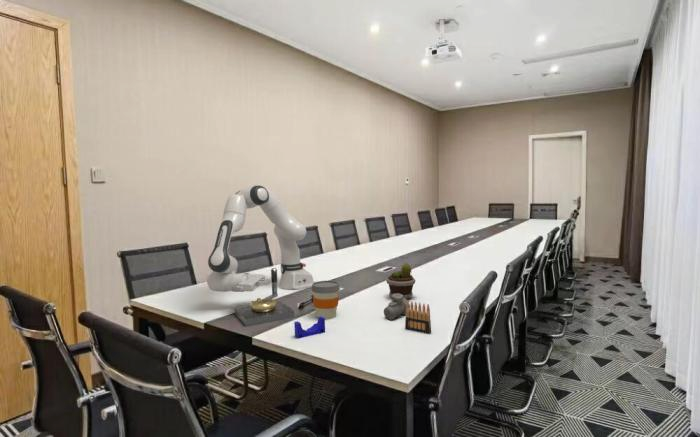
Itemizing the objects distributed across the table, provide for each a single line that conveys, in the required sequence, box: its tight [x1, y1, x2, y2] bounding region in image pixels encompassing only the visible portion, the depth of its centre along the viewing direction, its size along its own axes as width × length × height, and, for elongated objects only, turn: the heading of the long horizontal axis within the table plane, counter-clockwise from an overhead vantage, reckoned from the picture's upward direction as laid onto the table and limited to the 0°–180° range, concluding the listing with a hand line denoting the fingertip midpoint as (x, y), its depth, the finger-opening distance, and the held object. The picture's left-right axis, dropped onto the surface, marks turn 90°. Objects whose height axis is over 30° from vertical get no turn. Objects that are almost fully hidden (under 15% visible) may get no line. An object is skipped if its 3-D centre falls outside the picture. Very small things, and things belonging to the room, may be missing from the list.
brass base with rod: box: [250, 267, 279, 312], centre depth 183 cm, size 17×11×17 cm, turn 160°
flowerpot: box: [385, 262, 416, 301], centre depth 205 cm, size 14×15×20 cm
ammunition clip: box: [404, 300, 432, 335], centre depth 158 cm, size 11×2×12 cm, turn 56°
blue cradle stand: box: [293, 316, 326, 339], centre depth 158 cm, size 12×4×6 cm, turn 121°
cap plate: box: [233, 300, 295, 327], centre depth 181 cm, size 22×20×3 cm
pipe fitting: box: [383, 293, 411, 320], centre depth 176 cm, size 12×8×10 cm
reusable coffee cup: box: [311, 280, 340, 320], centre depth 179 cm, size 13×12×15 cm
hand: (268, 282), depth 190 cm, fingers closed
